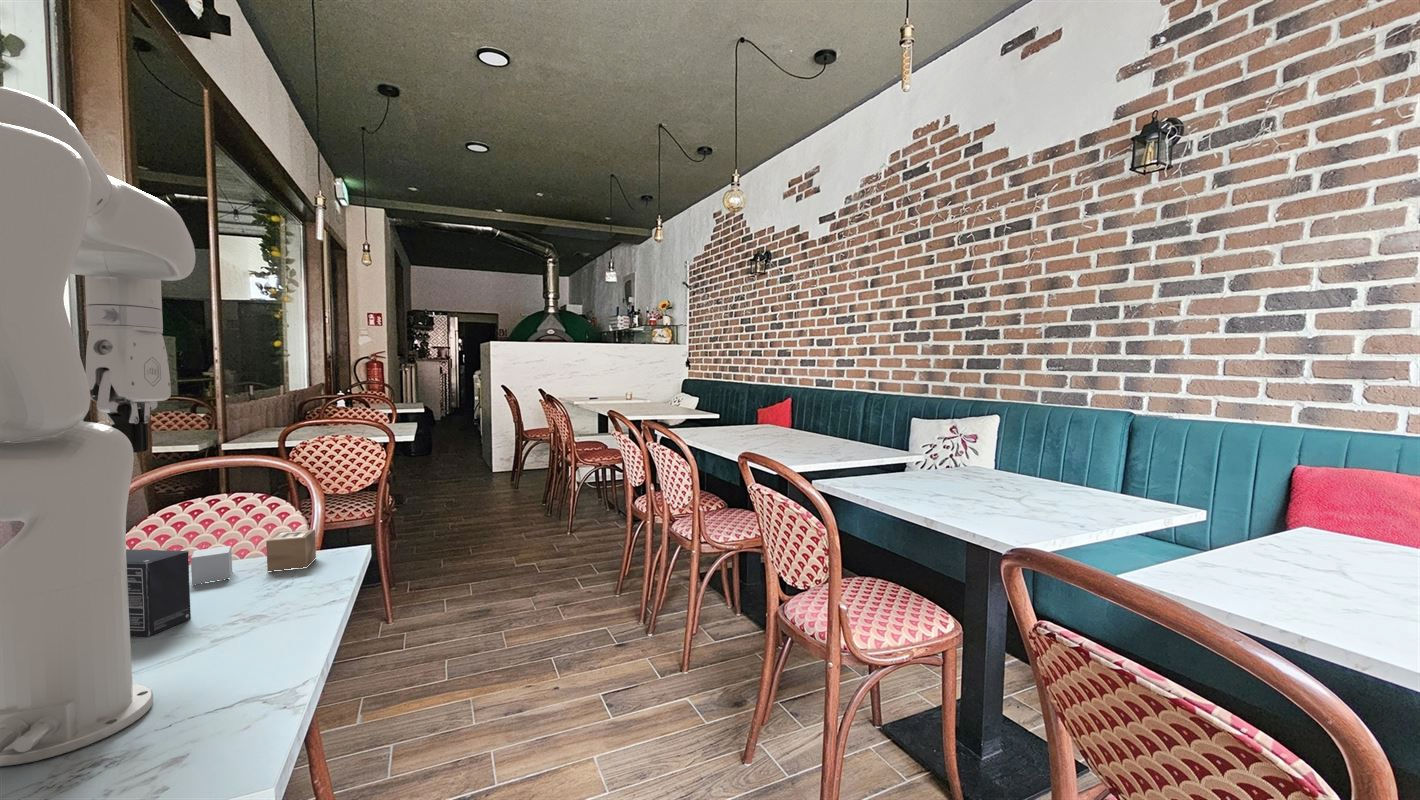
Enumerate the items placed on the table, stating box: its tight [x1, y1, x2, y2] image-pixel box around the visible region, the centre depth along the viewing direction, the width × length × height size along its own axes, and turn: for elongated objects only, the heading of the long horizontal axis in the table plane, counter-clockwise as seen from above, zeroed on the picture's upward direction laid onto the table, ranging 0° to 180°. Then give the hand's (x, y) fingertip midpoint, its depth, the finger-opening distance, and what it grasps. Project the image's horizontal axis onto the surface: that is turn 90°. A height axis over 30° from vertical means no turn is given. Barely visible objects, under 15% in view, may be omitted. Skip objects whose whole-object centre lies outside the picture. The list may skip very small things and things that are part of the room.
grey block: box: [190, 545, 233, 586], centre depth 103 cm, size 5×5×5 cm
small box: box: [126, 548, 192, 638], centre depth 83 cm, size 11×6×10 cm, turn 84°
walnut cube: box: [265, 529, 317, 572], centre depth 110 cm, size 6×6×6 cm
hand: (130, 451), depth 82 cm, fingers closed
